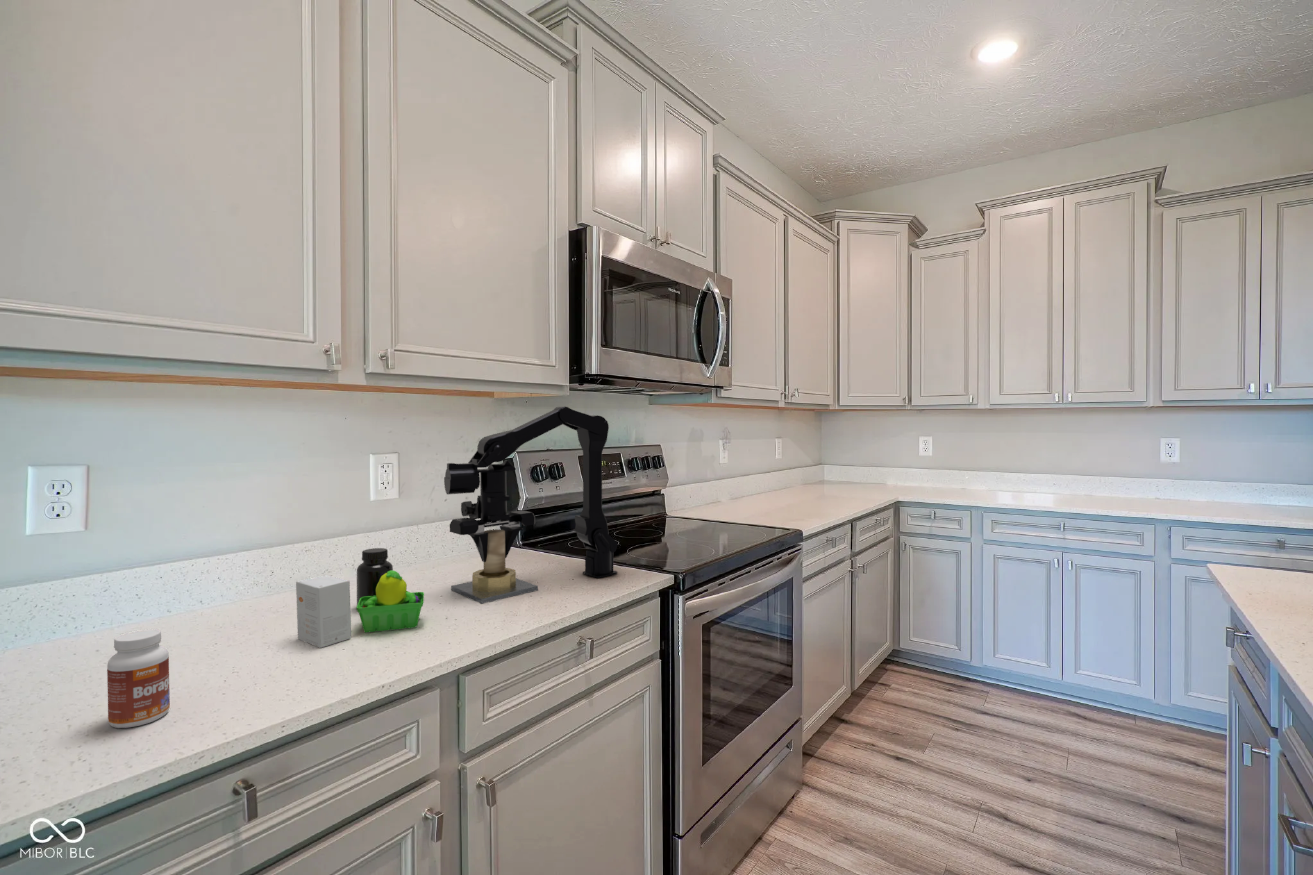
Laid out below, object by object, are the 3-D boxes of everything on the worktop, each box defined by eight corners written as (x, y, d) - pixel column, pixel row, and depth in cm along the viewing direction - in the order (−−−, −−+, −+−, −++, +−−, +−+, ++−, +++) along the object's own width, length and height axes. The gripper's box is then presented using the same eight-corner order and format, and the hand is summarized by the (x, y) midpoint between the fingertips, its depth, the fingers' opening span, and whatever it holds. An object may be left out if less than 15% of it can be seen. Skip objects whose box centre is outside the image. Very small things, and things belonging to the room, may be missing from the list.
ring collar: (505, 578, 148) (505, 562, 148) (537, 590, 138) (537, 572, 138) (451, 590, 138) (450, 572, 138) (481, 603, 128) (481, 584, 128)
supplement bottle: (383, 613, 122) (382, 553, 121) (350, 612, 122) (349, 553, 122) (399, 602, 129) (398, 546, 128) (367, 602, 129) (366, 546, 128)
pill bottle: (136, 731, 76) (133, 644, 76) (95, 727, 77) (92, 641, 77) (182, 708, 82) (180, 627, 82) (143, 705, 83) (141, 625, 83)
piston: (498, 567, 141) (498, 528, 141) (509, 570, 138) (508, 531, 137) (479, 570, 138) (479, 531, 138) (490, 574, 134) (489, 534, 134)
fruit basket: (424, 616, 120) (423, 559, 120) (423, 631, 112) (422, 570, 111) (361, 622, 116) (360, 564, 116) (355, 638, 108) (354, 576, 108)
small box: (352, 639, 108) (350, 580, 107) (319, 648, 103) (318, 587, 103) (328, 630, 112) (327, 573, 112) (296, 639, 108) (295, 580, 107)
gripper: (511, 485, 149) (511, 548, 150) (438, 492, 136) (439, 560, 137) (536, 489, 141) (536, 555, 142) (461, 496, 128) (462, 569, 129)
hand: (494, 559), depth 138 cm, fingers closed on piston, 5 cm apart
